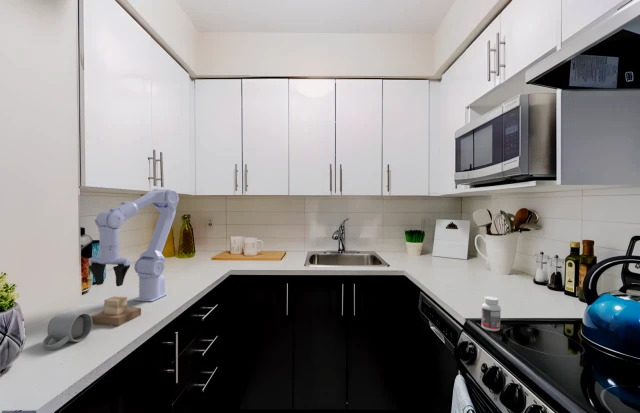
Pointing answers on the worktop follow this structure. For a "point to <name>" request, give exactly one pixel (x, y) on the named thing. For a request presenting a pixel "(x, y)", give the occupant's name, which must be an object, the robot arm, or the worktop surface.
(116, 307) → the oak cube
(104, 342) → the worktop surface
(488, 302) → the pill bottle
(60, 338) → the ceramic mug
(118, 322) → the walnut block
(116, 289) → the worktop surface
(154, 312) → the worktop surface
